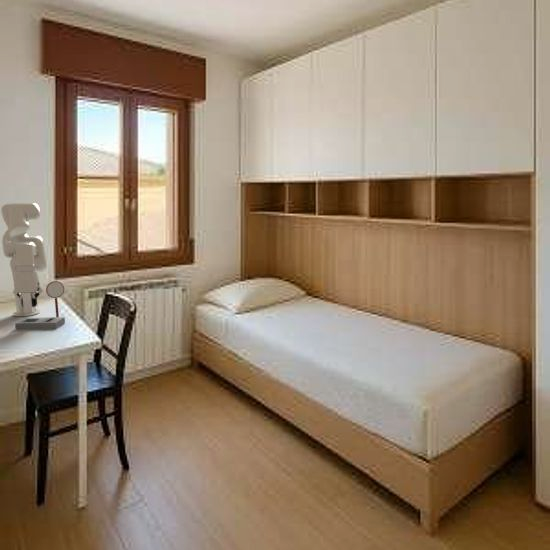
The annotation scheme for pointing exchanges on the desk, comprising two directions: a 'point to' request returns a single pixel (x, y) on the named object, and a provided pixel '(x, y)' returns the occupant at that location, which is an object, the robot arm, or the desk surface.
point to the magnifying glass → (55, 292)
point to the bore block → (40, 323)
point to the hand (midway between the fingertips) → (29, 306)
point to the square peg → (28, 303)
